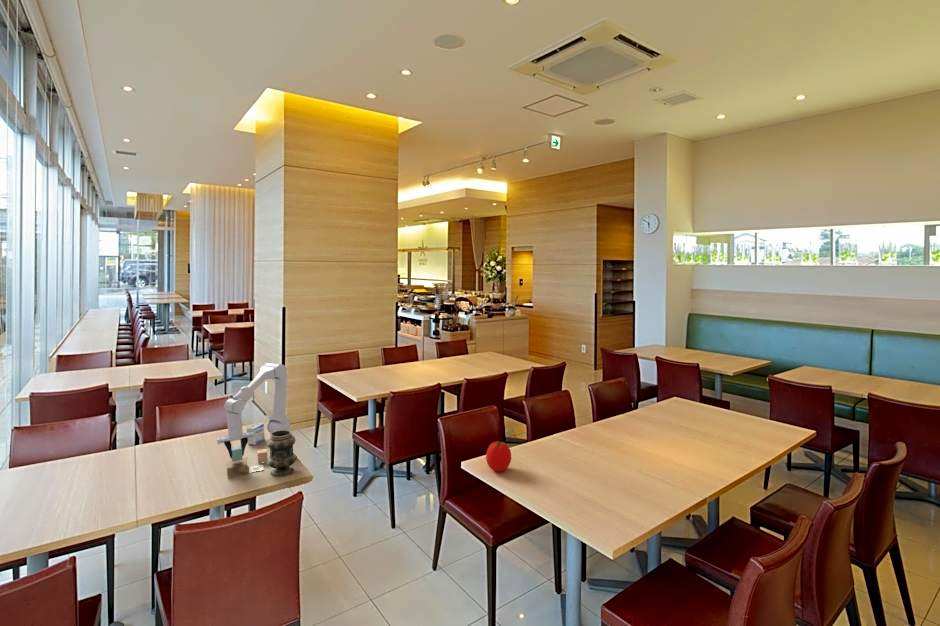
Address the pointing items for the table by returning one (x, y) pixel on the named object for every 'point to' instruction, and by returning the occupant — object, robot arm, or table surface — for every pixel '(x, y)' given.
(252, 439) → the medicine box
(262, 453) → the terracotta block
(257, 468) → the card
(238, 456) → the teal block
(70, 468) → the table surface
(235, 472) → the walnut block
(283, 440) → the apothecary jar
